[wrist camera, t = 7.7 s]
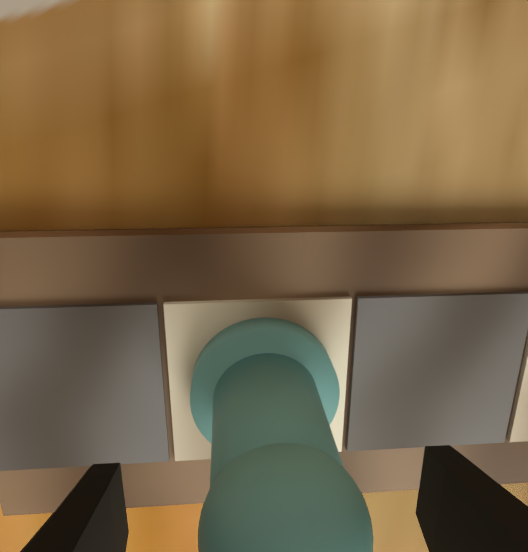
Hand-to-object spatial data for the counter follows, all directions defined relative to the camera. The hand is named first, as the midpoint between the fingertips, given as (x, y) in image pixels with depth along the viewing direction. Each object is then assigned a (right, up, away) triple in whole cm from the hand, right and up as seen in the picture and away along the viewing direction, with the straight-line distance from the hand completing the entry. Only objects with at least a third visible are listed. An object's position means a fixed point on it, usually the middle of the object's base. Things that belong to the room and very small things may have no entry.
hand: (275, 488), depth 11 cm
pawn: (0, +2, +4) cm, 5 cm away
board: (+2, +2, +5) cm, 6 cm away
